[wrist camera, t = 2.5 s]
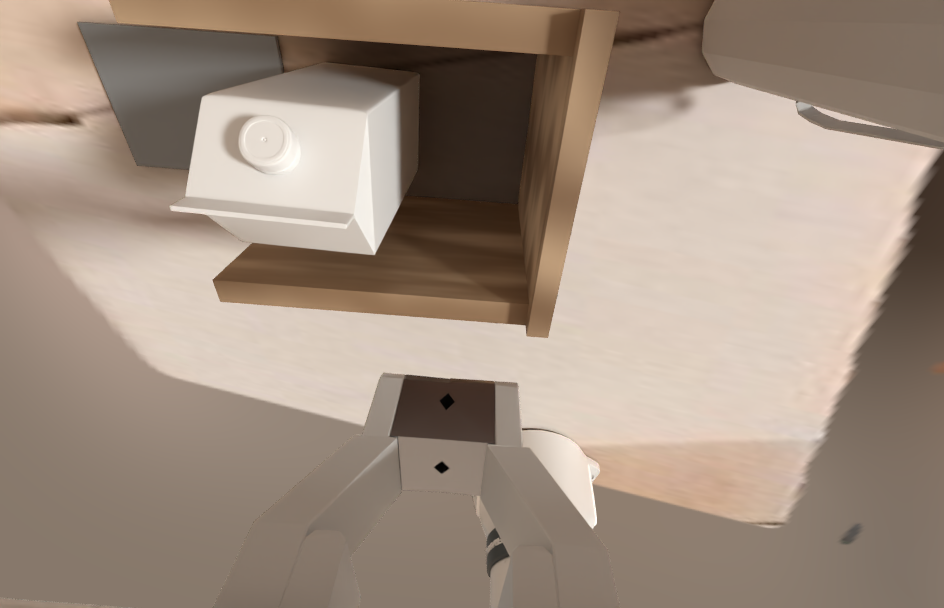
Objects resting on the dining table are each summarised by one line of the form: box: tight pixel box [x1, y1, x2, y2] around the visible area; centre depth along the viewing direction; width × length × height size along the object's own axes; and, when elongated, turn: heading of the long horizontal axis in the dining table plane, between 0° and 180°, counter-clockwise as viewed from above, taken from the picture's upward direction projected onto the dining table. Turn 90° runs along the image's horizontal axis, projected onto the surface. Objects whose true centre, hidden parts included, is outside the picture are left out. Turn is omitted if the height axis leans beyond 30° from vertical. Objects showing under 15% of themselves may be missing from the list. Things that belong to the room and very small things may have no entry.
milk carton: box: [169, 63, 419, 255], centre depth 24 cm, size 7×7×19 cm
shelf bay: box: [109, 0, 620, 338], centre depth 25 cm, size 15×19×16 cm
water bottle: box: [702, 0, 944, 150], centre depth 17 cm, size 9×8×25 cm
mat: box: [77, 22, 284, 169], centre depth 32 cm, size 10×14×1 cm
